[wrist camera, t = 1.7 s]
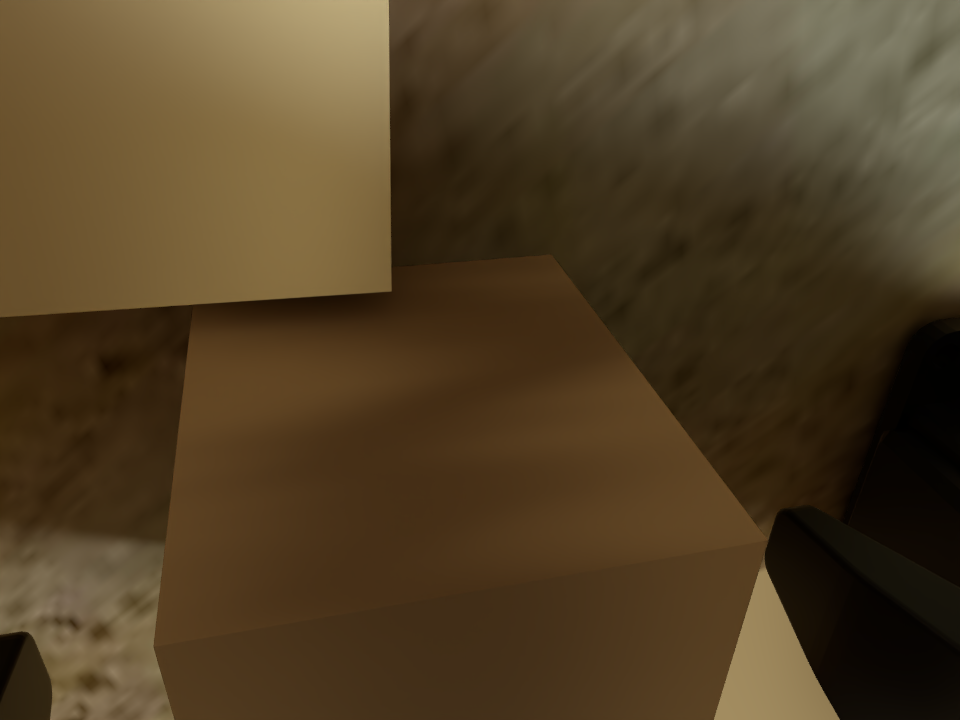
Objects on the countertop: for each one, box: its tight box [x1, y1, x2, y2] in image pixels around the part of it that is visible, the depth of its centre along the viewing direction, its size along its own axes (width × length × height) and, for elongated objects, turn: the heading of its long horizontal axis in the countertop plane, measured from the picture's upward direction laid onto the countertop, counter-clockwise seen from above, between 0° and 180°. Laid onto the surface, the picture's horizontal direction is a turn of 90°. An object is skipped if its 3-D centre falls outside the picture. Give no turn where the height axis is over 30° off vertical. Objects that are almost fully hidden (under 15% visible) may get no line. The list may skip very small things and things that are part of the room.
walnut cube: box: [154, 254, 768, 720], centre depth 10 cm, size 5×5×6 cm
